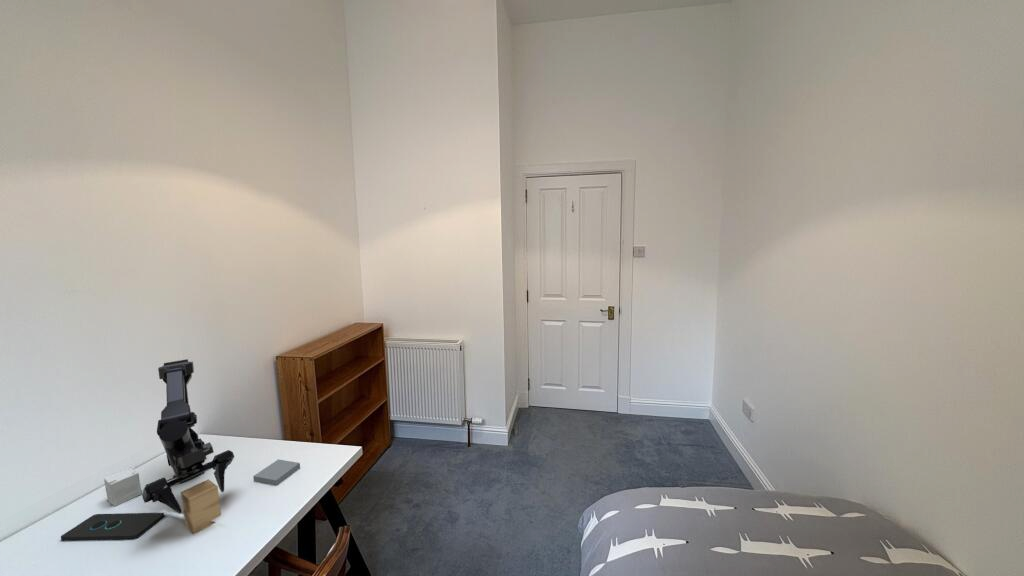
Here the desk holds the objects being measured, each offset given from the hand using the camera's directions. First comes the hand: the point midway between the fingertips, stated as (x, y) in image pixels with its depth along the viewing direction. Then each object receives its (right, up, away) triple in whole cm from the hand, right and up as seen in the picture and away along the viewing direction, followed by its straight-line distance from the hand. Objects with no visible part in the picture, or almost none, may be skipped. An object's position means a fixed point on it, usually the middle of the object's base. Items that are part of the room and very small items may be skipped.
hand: (202, 501), depth 95 cm
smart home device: (-24, -8, 0) cm, 25 cm away
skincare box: (-34, -6, +12) cm, 37 cm away
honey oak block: (-1, -7, +2) cm, 7 cm away
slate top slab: (+7, -3, +19) cm, 21 cm away
